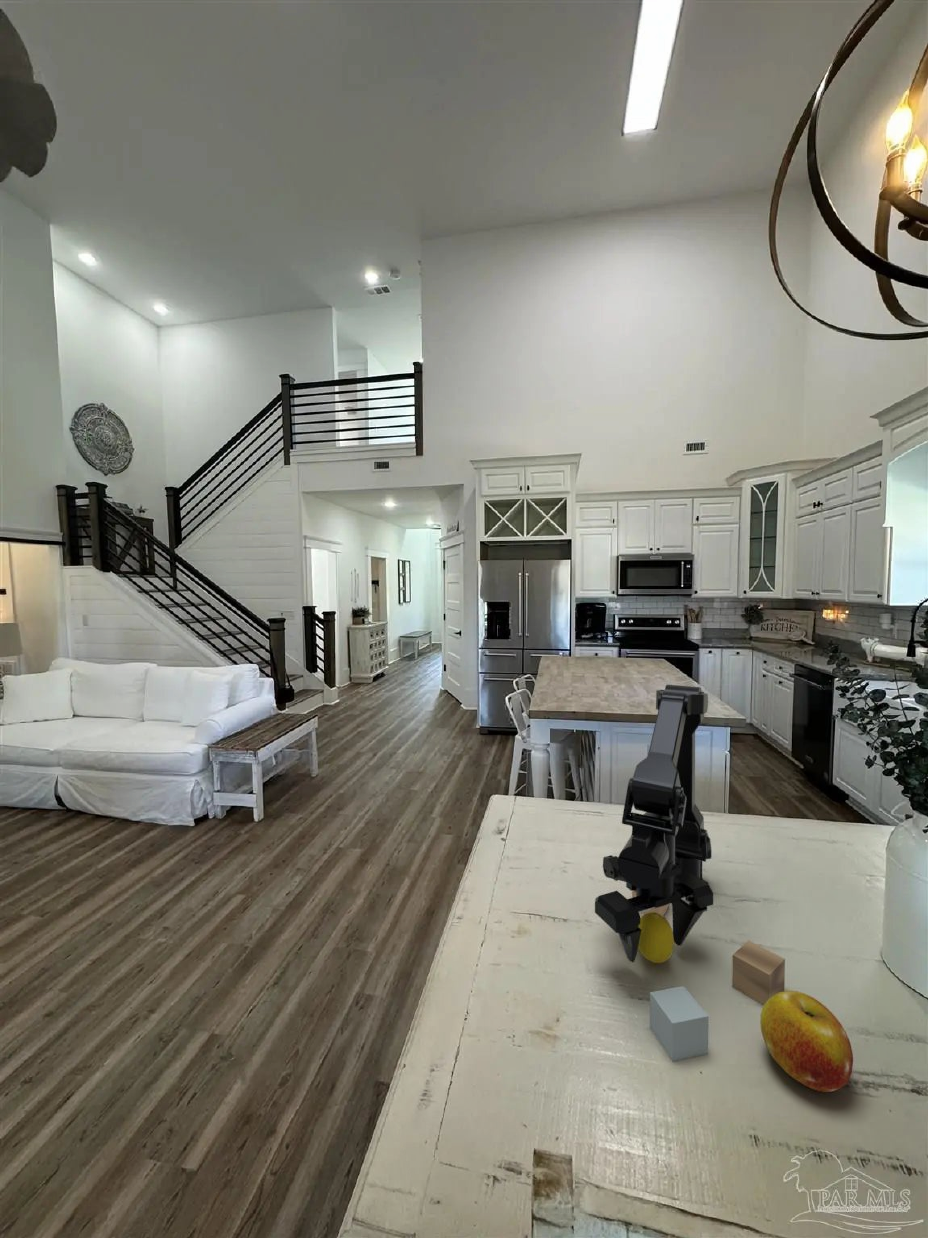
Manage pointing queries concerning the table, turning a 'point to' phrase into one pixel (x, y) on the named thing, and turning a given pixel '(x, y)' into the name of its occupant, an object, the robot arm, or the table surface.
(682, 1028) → the slate block
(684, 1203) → the table surface
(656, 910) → the terracotta block
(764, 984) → the walnut block
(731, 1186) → the table surface
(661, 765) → the robot arm
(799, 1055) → the fruit
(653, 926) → the lemon
